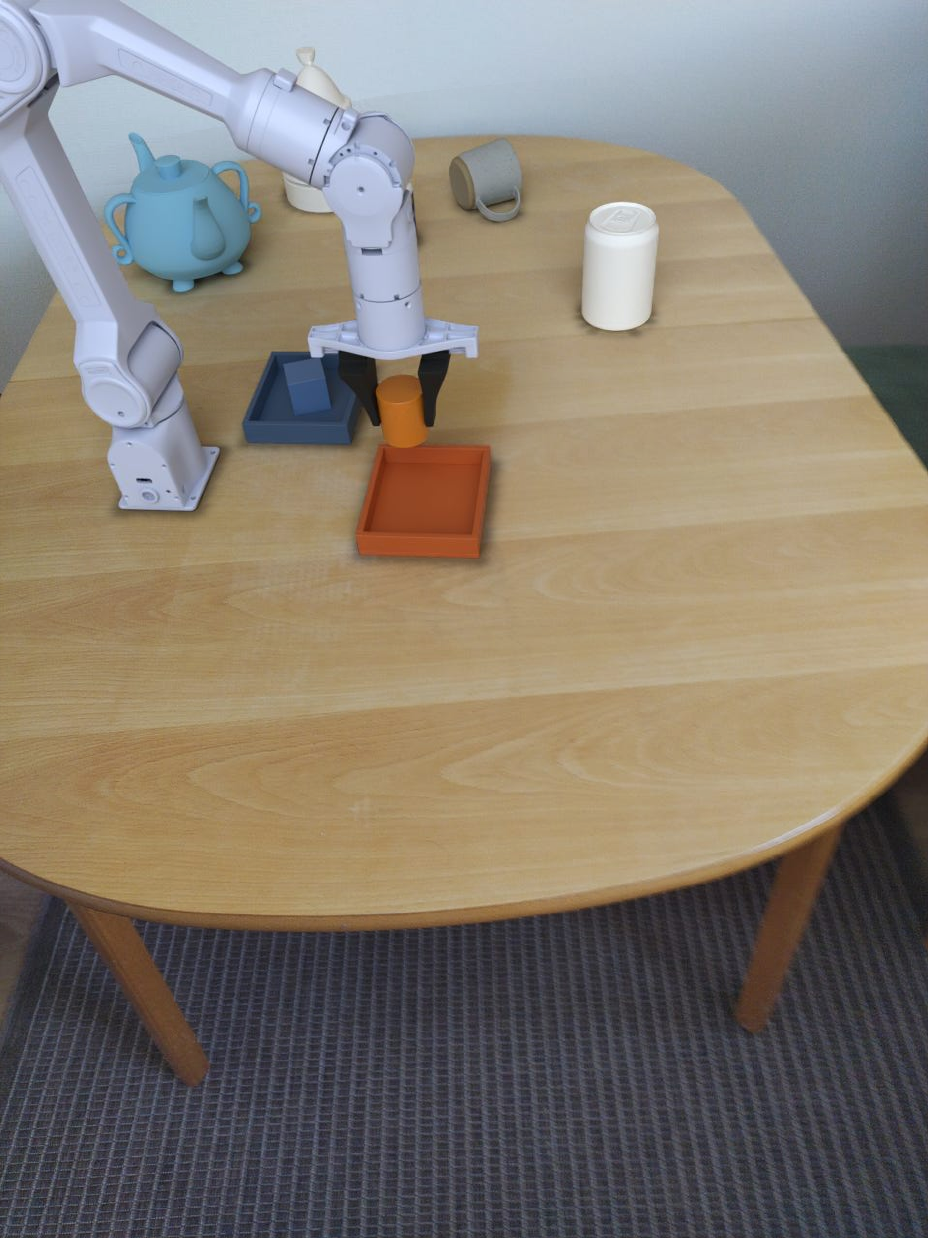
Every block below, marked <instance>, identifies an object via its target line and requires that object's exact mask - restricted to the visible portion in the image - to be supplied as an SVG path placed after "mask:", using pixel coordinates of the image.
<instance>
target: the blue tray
mask: <svg viewBox="0 0 928 1238" xmlns="http://www.w3.org/2000/svg"><path fill="white" fill-rule="evenodd" d="M308 359H313V358H312V357H311V353H310V351H286V350H285V351H284V350H283V351H277V350H276V351H275V350H274V351H273V350H272V351H270V354H269V357H268V359H267V362H266V364H265V367H264V369H263V371H262V374H261V377H260V379H259V382H258V384H257V386H256V389H255V391H254V394H253V395H252V398H251V400H250V403H249V405H248V408H247V410H246V413H245V415H244V418H243V420H242V422H241V426H242V430H243V433H244V437H245V440H246V443H247V444H292V445H294V444H296V445H297V444H298V445H345V446H346V445H350V446H351V445H352V441H353V438H354V434H355V430H356V427H357V423H358V420H359V418H360V417H359V416H360V413H361V410H362V406H363V405H362V403H361V402H360V400H359V398H358V397H357V396H356V394H355V393H354V392H353V391H352V389H351V388H350V387H349V386H348V385H347V384H346V383H345V382H344V381H343V380H341V379H340V376H339V374H338V370H337V369H338V365H339V356H338V353H324V356H323V357H320V360H321V363H322V367H323V371H324V375H325V379H326V384H327V389H328V394H329V398H330V403H331V409H328V410H323V411H317V412H312V413H307V414H302V415H297V416H295V414H294V410H293V406H292V401H291V397H290V393H289V389H288V385H287V380H286V375H285V371H284V366H283V364H287V363H292V362H297V361H302V360H308Z"/></svg>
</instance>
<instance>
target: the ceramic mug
mask: <svg viewBox="0 0 928 1238" xmlns="http://www.w3.org/2000/svg"><path fill="white" fill-rule="evenodd" d="M448 167H449V168H448V176H449V177H448V178H449V183H450V187H451V191H452V193H453V196H454V198H455V200H456V201H457V203H458V204H459V205H460V206H461V207H462V208H463V209H465V210H468V211H470V210H478V211H479V212H480V214H482V215H483V216H484V217H485V218H486V219H487V220H489V221H492V222H499V223H501V222H502V223H503V222H507V221H511V220H513V219H514V218H515V217H517V215H518V213H519V211H520V207H521V200H522V199H521V198H522V197H521V193H522V189H523V180H524V179H523V172H522V171H523V170H522V166H521V162H520V159H519V157H518V154H517V152H516V150H515V147H514V146H513V145H512V143H511V142H510V141H509V140H508V139H507V138H504V137H498V138H496V139H494V140H491V141H489V142H486V143H483V144H481V145H479V146H476V147H474V148H472V149H468V150H465V151H463V152H461V153H460V154H458V155H456V156H455V157H454V158H452V159H451V161H450V164H449V166H448ZM513 199H515V201H516V204H515V206H514V208H513V209H512V210H510V211H505V212H495V211H492V210H490V209H489V208H487V207H488V206H491V205H495V204H499V203H502V202H506V201H509V200H513Z"/></svg>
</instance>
